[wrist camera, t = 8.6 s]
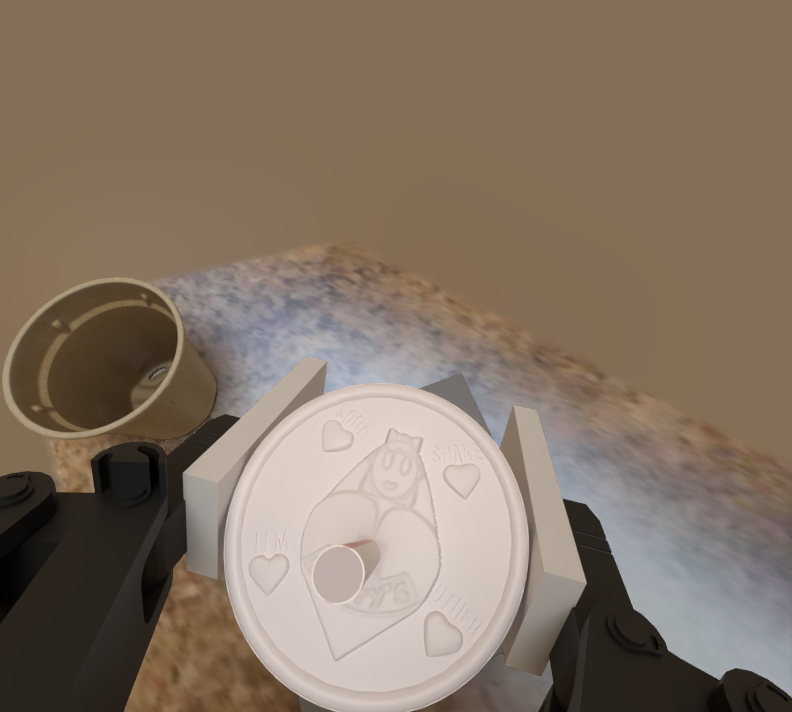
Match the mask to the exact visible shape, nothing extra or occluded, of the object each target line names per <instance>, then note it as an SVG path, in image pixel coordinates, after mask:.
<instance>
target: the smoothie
mask: <svg viewBox="0 0 792 712" xmlns="http://www.w3.org/2000/svg"><path fill="white" fill-rule="evenodd" d="M528 561H529V535H528V524H527V517H526V511H525V507H524V503H523V499H522V495H521V493H520V490H519V487H518V484H517V481H516V479H515V477H514V474H513V472H512V470H511V468H510V466H509V464H508V462H507V460H506V459H505V457H504V455H503V454H502V452H501V451H500V449H499V448H498V446H497V445H496V443H495V442H494V441H493V440H492V438H491V437H490V436H489V435H488V433H487V432H486V431H485V430H484V429H483V428H482V427H481V426H480V425H479V424H478V423H477V422H476V421H475V420H473V419H472V418H471V417H470V416H469V415H468V414H466V413H465V412H464V411H462V410H461V409H459V408H458V407H457V406H455V405H453V404H452V403H450V402H448V401H446V400H445V399H443V398H441V397H438V396H436V395H434V394H432V393H429V392H426V391H423V390H421V389H417V388H413V387H409V386H404V385H398V384H387V383H371V384H361V385H354V386H349V387H345V388H341V389H338V390H335V391H332V392H329V393H326V394H324V395H322V396H319V397H317V398H315V399H313V400H311V401H310V402H308V403H306V404H304V405H303V406H301V407H300V408H298V409H297V410H295V411H294V412H292V413H291V414H290V415H289V416H287V417H286V418H285V419H283V420H282V421H281V422H280V423H279V424H278V425H277V426H276V427H275V428H274V429H273V430H272V431H271V432H270V433H269V434H268V435H267V437H266V438H265V439H264V440H263V441H262V442H261V444H260V445H259V447H258V448H257V449H256V451H255V452H254V453H253V455H252V457H251V458H250V460H249V462H248V463H247V465H246V467H245V469H244V471H243V473H242V475H241V477H240V479H239V481H238V484H237V486H236V489H235V491H234V494H233V497H232V501H231V504H230V507H229V512H228V516H227V521H226V528H225V536H224V571H225V578H226V585H227V591H228V594H229V598H230V602H231V606H232V609H233V612H234V614H235V617H236V620H237V623H238V625H239V627H240V629H241V631H242V633H243V635H244V637H245V639H246V640H247V642H248V644H249V645H250V647H251V649H252V650H253V652H254V653H255V654H256V656H257V657H258V658H259V660H260V661H261V662H262V664H263V665H264V666H265V667H266V668H267V669H268V670H269V671H270V672H271V673H272V674H273V675H274V676H275V677H276V678H277V679H278V680H279V681H280V682H281V683H283V684H284V685H285V686H286V687H287V688H289V689H290V690H291V691H293V692H295V693H296V694H298V695H299V696H301V697H302V698H304V699H306V700H308V701H310V702H312V703H314V704H316V705H318V706H320V707H323V708H326V709H329V710H332V711H335V712H412V711H415V710H418V709H422V708H424V707H426V706H429V705H431V704H433V703H436V702H438V701H440V700H442V699H443V698H445V697H447V696H448V695H450V694H452V693H454V692H455V691H456V690H458V689H459V688H460V687H462V686H463V685H464V684H466V683H467V682H468V681H469V680H470V679H471V678H472V677H474V676H475V675H476V674H477V673H478V672H479V671H480V670H481V669H482V668H483V667H484V665H485V664H486V663H487V662H488V661H489V660H490V658H491V657H492V656H493V655H494V653H495V652H496V650H497V649H498V647H499V646H500V645H501V643H502V641H503V640H504V638H505V636H506V634H507V632H508V631H509V629H510V627H511V625H512V622H513V620H514V618H515V616H516V613H517V611H518V608H519V605H520V602H521V599H522V595H523V591H524V587H525V582H526V577H527V569H528Z"/></svg>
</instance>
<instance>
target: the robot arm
mask: <svg viewBox="0 0 792 712" xmlns="http://www.w3.org/2000/svg"><path fill="white" fill-rule="evenodd" d="M326 367H327V361H324V360H319V359H315V358H311V357H307V356H306V357H305V358H304V359H303V360H302V361H301V362H300V363H299V364H298V365H297V366H296V367H295V368H294V369H292V370H291V371H290V372H289V373H288V374H287V375H286V376H285V377H284V378H283V379H282V380H281V381H280V382H279V383H278V384H277V385H276V386H274V387H273V388H272V389H271V390H270V391H269V392H268V393H267V394H266V395H265V396H264V397H263V398H262V399H261V400H260V401H259V402H258V403H256V404H255V405H254V406H253V407H252V408H251V409H250V410H249V411H248V412H247V413H246V414H245V415H244V416H243V417H242V418H238V417H234V416H230V415H226V414H225V415H222V416H220V417H217V418H215V419H213V420H210V421H208V422H207V423H205V424H204V425H203V426H202V427H201V428H200V429H198V430H197V431H196V432H195V434H192V435H191V436H190V437H189V438H188V439H186V440H185V442H184V443H182V444H180V445H179V446H178V447H177V448H176V449H174V450H173V451H172V452H171V453H170V454H169V455H166V453H165V451H164V449H163V448H161V447H159V446H157V445H156V444H152V443H147V442H128V443H124V444H120V445H116V446H112V447H110V448H108V449H106V450H104V451H102V452H100V453H99V454H97V455H96V456H95V457H94V458H93V459H91V467H92V474H93V481H94V488H95V493H68V492H56V488H55V483H54V481H53V479H52V478H51V476H49V475H46V474H44V473H42V472H30V471H26V472H19V473H12V474H8V475H4V476H1V477H0V712H123V711H124V709H125V706H126V703H127V701H128V698H129V695H130V693H131V690H132V688H133V685H134V682H135V680H136V677H137V674H138V672H139V669H140V667H141V664H142V661H143V659H144V656H145V654H146V651H147V648H148V646H149V643H150V640H151V638H152V635H153V633H154V630H155V627H156V625H157V622H158V619H159V617H160V614H161V612H162V609H163V606H164V604H165V601H166V598H167V596H168V593H169V591H170V588H171V585H172V579H173V567H174V566H175V565H176V563H177V562H178V561H179V560H180V559H181V557H182V556H183V555H184V554H185V552H186V571H190V572H193V573H196V574H200V575H203V576H206V577H210V578H213V579H216V580H218V578H219V577H220V575H221V574H222V572H223V571H224V536H225V528H226V521H227V516H228V512H229V507H230V504H231V501H232V497H233V494H234V491H235V489H236V486H237V484H238V481H239V479H240V477H241V475H242V473H243V471H244V469H245V467H246V465H247V463H248V462H249V460H250V458H251V457H252V455H253V453H254V452H255V451H256V449H257V448H258V447H259V445H260V444H261V442H262V441H263V440H264V439H265V438H266V437H267V435H268V434H269V433H270V432H271V431H272V430H273V429H274V428H275V427H276V426H277V425H278V424H279V423H280V422H281V421H282V420H283V419H285V418H286V417H287V416H289V415H290V414H291V413H292V412H294V411H295V410H297V409H298V408H300V407H301V406H303V405H304V404H306V403H308V402H310V401H311V400H313V399H315V398H317V397H319V396H322V395H323V393H324V385H325V376H326ZM500 451H501V452H502V454H503V455H504V457H505V459H506V460H507V462H508V464H509V466H510V468H511V470H512V472H513V474H514V477H515V479H516V481H517V484H518V487H519V490H520V493H521V495H522V499H523V503H524V507H525V511H526V517H527V524H528V535H529V561H528V569H527V577H526V582H525V587H524V591H523V595H522V599H521V602H520V605H519V608H518V611H517V613H516V616H515V618H514V620H513V622H512V625H511V627H510V629H509V631H508V632H507V634H506V636H505V638H504V640H503V654H504V665H505V666H509V667H512V668H515V669H519V670H522V671H525V672H529V673H532V674H535V675H539V676H541V675H542V673H543V671H544V669H545V667H546V665H547V663H548V661H549V659H550V663H551V670H552V676H553V684H552V686H551V688H550V690H549V692H548V694H547V696H546V698H545V700H544V702H543V704H542V706H541V708H540V710H539V712H792V698H791V697H790V696H789V695H788V694H787V693H786V692H784V691H783V690H782V689H780V688H779V687H777V686H776V685H775V684H773V683H772V682H771V681H769V680H768V679H766V678H764V677H762V676H760V675H758V674H756V673H753V672H751V671H748V670H742V669H737V668H735V669H733V670H730V671H727V672H726V673H725V674H724V675H723V677H722V678H721V679H720V680H718V679H716V678H714V677H713V676H711V675H709V674H707V673H705V672H704V671H702V670H700V669H698V668H696V667H695V666H693V665H691V664H689V663H687V662H686V661H684V660H682V659H680V658H679V657H677V656H676V655H674V654H672V653H671V652H669V651H668V650H667V646H666V643H665V641H664V640H663V638H662V637H661V635H660V634H659V632H658V631H657V629H656V628H655V627H654V626H653V625H652V624H651V623H650V622H649V621H648V620H647V619H646V618H645V617H644V616H643V615H642V614H640V613H639V612H637V611H636V610H634V609H633V607H632V604H631V601H630V599H629V596H628V594H627V591H626V588H625V586H624V583H623V581H622V578H621V575H620V573H619V570H618V568H617V565H616V562H615V560H614V557H613V555H611V549H610V547H609V544H608V542H607V541H606V536H605V534H604V531H603V529H602V526H601V523H600V521H599V520H598V518H597V517H596V516H595V515H594V514H593V512H592V511H591V510H590V509H589V508H588V506H587V505H586V504H582V503H578V502H574V501H570V500H566V499H562V496H561V492H560V489H559V486H558V482H557V479H556V475H555V472H554V468H553V465H552V461H551V458H550V454H549V451H548V448H547V444H546V441H545V437H544V434H543V430H542V427H541V423H540V420H539V417H538V413H537V410H533V409H529V408H524V407H520V406H516V405H513V408H512V411H511V414H510V418H509V421H508V424H507V427H506V430H505V433H504V436H503V439H502V442H501V446H500Z"/></svg>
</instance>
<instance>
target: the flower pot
mask: <svg viewBox="0 0 792 712" xmlns="http://www.w3.org/2000/svg"><path fill="white" fill-rule="evenodd" d="M161 368H165V370H164V371H162V372H161V373H159V374H158V375H156V376H155V377H153V379H150V377H151V376H152V374H153V373H154V372H156V371H157V370H159V369H161ZM2 380H3V381H2V385H3V387H2V388H3V393H4V396H5V401H6V403H7V404H8V407H9V410H11V412H12V413H13V414H14V416H15V417H17V419H18V420H19V421H20V422H21V423H22V424H23V425H24V426H26V427H27V428H28V429H30V430H32V431H34V432H36V433H39V434H41V435H44V436H48V437H52V438H57V439H69V440H72V439H84V438H90V437H95V436H99V435H103V434H110V433H114V434H123V435H132V436H140V437H148V438H153V439H173V438H178V437H181V436H183V435H185V434H187V433H189V432H191V431H193V430H194V429H196V428H197V427H198V426H199V425H200V424H201V423H202V422H203V421H204V420H205V419H206V418H207V417H208V415H209V414H210V412H211V410H212V407H213V403H214V399H215V395H216V391H217V385H216V380H215V377H214V375H213V373H212V371H211V370H210V368H209V367H208V366H207V365H206V363H205V362H204V361H203V360H202V358H201V357H200V356H199V354H198V353H197V351H196V350H195V349H194V347H193V346H192V344H191V343H190V342H189V340H188V339H187V338H186V334H185V329H184V324H183V320H182V317H181V315H180V312H179V310H178V309H177V307H176V305H175V304H174V303H173V301H172V300H171V299H170V298H169V297H168V296H167V295H166V294H165V293H164V292H163V291H161V290H160V289H158V288H157V287H155V286H153V285H151V284H149V283H147V282H144V281H140V280H137V279H132V278H123V277H112V278H104V279H97V280H93V281H90V282H87V283H82V284H80V285H77V286H75V287H73V288H71V289H69V290H67V291H65V292H62V293H61V294H60V295H58V296H57V297H55V298H54V299H52V300H51V301H49V302H48V303H47V304H45V305H44V306H43V307H42V308H40V309H39V310H38V311H37V312H36V313H35V314H34V315H33V316H32V317H31V318H30V319H29V320H28V321H27V323H26V324H25V325H24V326H23V327H22V329H21V330H20V331H19V333H18V335H17V337H16V338H15V340H14V342H13V344H12V345H11V347H10V349H9V352H8V355H7V358H6V360H5V364H4V369H3V376H2Z"/></svg>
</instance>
